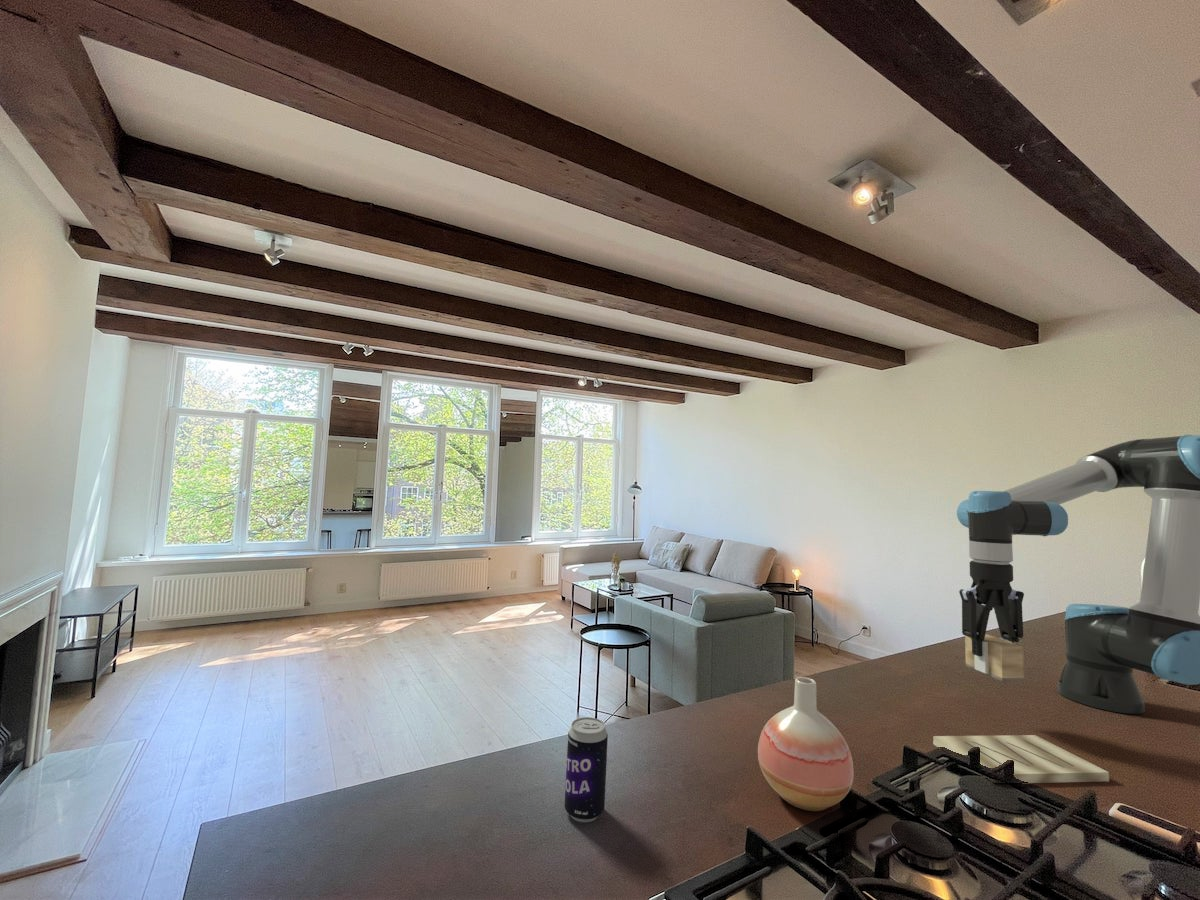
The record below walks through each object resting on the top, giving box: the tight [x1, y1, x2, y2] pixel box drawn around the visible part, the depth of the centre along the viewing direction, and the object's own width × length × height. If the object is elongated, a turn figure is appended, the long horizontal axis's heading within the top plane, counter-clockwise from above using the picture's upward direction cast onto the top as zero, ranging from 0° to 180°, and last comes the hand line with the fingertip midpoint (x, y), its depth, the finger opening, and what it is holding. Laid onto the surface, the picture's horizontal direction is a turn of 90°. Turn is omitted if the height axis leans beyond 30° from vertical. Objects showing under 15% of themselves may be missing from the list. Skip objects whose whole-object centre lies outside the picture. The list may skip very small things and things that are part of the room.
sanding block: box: [964, 633, 1025, 682], centre depth 109 cm, size 9×5×7 cm, turn 7°
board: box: [932, 734, 1110, 784], centre depth 92 cm, size 22×13×2 cm, turn 97°
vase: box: [757, 676, 855, 812], centre depth 78 cm, size 14×14×18 cm
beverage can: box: [563, 717, 609, 823], centre depth 72 cm, size 6×6×12 cm
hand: (993, 670), depth 109 cm, fingers closed on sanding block, 5 cm apart
